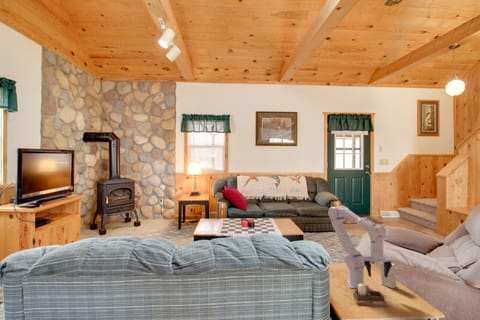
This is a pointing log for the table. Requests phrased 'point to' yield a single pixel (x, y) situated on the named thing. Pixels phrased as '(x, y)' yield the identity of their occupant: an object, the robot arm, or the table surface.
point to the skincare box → (389, 276)
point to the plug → (361, 289)
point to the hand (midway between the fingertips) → (377, 276)
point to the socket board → (370, 298)
